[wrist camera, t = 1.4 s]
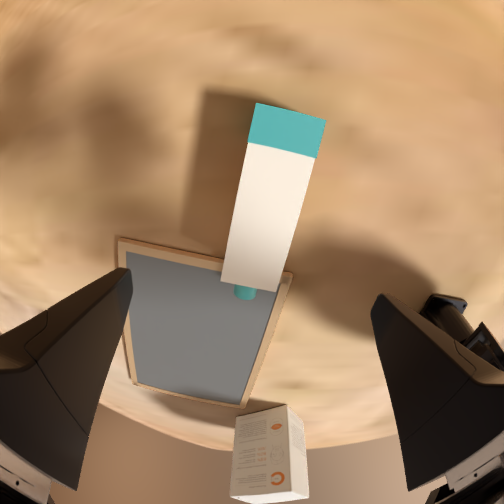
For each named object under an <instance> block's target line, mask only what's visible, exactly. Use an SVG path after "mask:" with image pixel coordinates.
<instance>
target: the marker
mask: <svg viewBox="0 0 504 504" xmlns="http://www.w3.org/2000/svg"><path fill="white" fill-rule="evenodd" d="M325 123H326V120H323V119H320V118H317V117H313V116H310V115H306V114H302V113H298V112H295V111H291V110H287V109H282V108H278V107H274V106H269V105H265V104H260V103H256V106H255V110H254V114H253V119H252V123H251V128H250V132H249V137H248V141H247V142H248V146H247V150H246V155H245V160H244V164H243V169H242V174H241V178H240V183H239V188H238V193H237V198H236V203H235V208H234V212H233V217H232V223H231V228H230V233H229V238H228V243H227V248H226V253H225V259H224V264H223V269H222V275H221V280H220V281H222V282H227V283H231V284H235V286H234V291H233V293H234V295H235V296H236V297H238V298H240V299H243V300H251V299H254V298H255V295H256V292H257V289H262V290H267V291H272V292H276V290H277V287H278V284H279V281H280V278H281V274H282V271H283V268H284V265H285V261H286V258H287V255H288V252H289V248H290V245H291V242H292V238H293V235H294V231H295V228H296V225H297V221H298V218H299V214H300V211H301V207H302V204H303V200H304V197H305V193H306V190H307V186H308V183H309V179H310V175H311V172H312V168H313V164H314V160H315V158H317V154H318V150H319V146H320V142H321V139H322V135H323V131H324V127H325Z"/></svg>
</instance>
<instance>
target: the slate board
mask: <svg viewBox="0 0 504 504" xmlns="http://www.w3.org/2000/svg"><path fill="white" fill-rule="evenodd" d="M223 264H224V259H220V258H215V257H210V256H205V255H201V254H196V253H191V252H186V251H181V250H177V249H172V248H167V247H163V246H158V245H153V244H148V243H144V242H139V241H135V240H130V239H125V238H120V239H119V240H118V268H119V267H123V268H129V269H130V270H131V273H132V282H133V295H132V299H131V302H130V306H129V310H128V313H127V317H126V321H125V325H124V336H125V343H126V350H127V356H128V363H129V368H130V374H131V379H132V384H133V385H137V386H140V387H143V388H147V389H150V390H154V391H158V392H161V393H165V394H169V395H173V396H177V397H182V398H186V399H190V400H195V401H200V402H205V403H210V404H215V405H221V406H227V407H233V408H240V409H245V407H246V404H247V402H248V399H249V397H250V394H251V392H252V389H253V387H254V384H255V381H256V379H257V376H258V374H259V371H260V368H261V366H262V363H263V360H264V358H265V355H266V352H267V350H268V347H269V344H270V342H271V339H272V336H273V333H274V330H275V328H276V325H277V322H278V319H279V316H280V314H281V311H282V308H283V305H284V302H285V299H286V296H287V293H288V290H289V287H290V284H291V281H292V278H293V275H292V273H290V272H285V271H282V274H281V278H280V281H279V284H278V287H277V290H276V292H272V291H267V290H262V289H257V292H256V295H255V298H254V299H251V300H243V299H240V298H238V297H236V296H235V295H234V293H233V291H234V286H235V284H231V283H227V282H222V281H220V280H221V275H222V269H223Z"/></svg>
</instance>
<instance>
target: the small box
mask: <svg viewBox="0 0 504 504" xmlns="http://www.w3.org/2000/svg"><path fill="white" fill-rule="evenodd" d="M230 497H233V498H235V499H238V500H241V501H245V502H248V503H252V504H263V503H274V502H283V501H291V500H298V499H304V498H309V487H308V472H307V459H306V447H305V436H304V425H303V421H302V420H301V419H300V418H299V417H298V416H297V415H296V414H295V413H294V412H293V411H292V410H291V409H290V408H289V407H288V406H287V405H283V406H279V407H276V408H272V409H268V410H264V411H260V412H256V413H252V414H248V415H243V416H238V417H236V423H235V435H234V447H233V460H232V472H231V484H230Z"/></svg>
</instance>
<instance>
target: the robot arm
mask: <svg viewBox="0 0 504 504" xmlns="http://www.w3.org/2000/svg"><path fill="white" fill-rule="evenodd" d="M132 295H133V282H132V273H131V270H130V269H129V268H123V267H119V268H117V269H115V270H113V271H111V272H110V273H108V274H106V275H104V276H103V277H101V278H99V279H97V280H95V281H94V282H92V283H90V284H88V285H87V286H85V287H83V288H82V289H80V290H78V291H76V292H75V293H73V294H71V295H70V296H68V297H66V298H65V299H63V300H61V301H60V302H58V303H56V304H55V305H53V306H51V307H50V308H48V310H45V311H43V312H42V313H40V314H38V315H37V316H35V317H33V318H32V319H30V320H28V321H26V322H25V323H23V324H21V325H19V326H17V327H15V328H14V329H12V330H10V331H8V332H6V333H4V334H2V335H0V504H55V503H54V501H53V500H52V498H51V496H50V494H49V490H50V486H51V482H52V481H54V482H56V483H58V484H61V485H63V486H65V487H68V488H70V489H72V490H75V491H77V488H78V482H79V478H80V473H81V468H82V463H83V459H84V454H85V450H86V446H87V442H88V438H89V437H88V436H89V433H90V430H91V426H92V423H93V419H94V415H95V412H96V409H97V405H98V402H99V399H100V395H101V392H102V389H103V386H104V383H105V380H106V377H107V374H108V371H109V368H110V365H111V362H112V359H113V357H114V354H115V351H116V348H117V345H118V343H119V340H120V337H121V335H122V332H123V329H124V325H125V321H126V317H127V313H128V310H129V306H130V302H131V299H132ZM466 307H467V302H466V301H465V300H460V299H454V298H449V297H444V296H438V295H432V296H430V298H429V299H428V301H427V303H426V304H425V306H424V308H423V310H422V311H421V313H420V314H418V313H417V312H415V311H414V310H412V309H411V308H409V307H408V306H407V305H405V304H404V303H402V302H401V301H399V300H398V299H396V298H395V297H393V296H392V295H390V294H386V293H381V294H379V295H378V296H377V299H376V301H375V303H374V305H373V307H372V309H371V320H372V325H373V330H374V335H375V340H376V345H377V350H378V354H379V357H380V361H381V364H382V368H383V371H384V375H385V379H386V383H387V386H388V390H389V394H390V398H391V403H392V407H393V411H394V415H395V420H396V425H397V429H398V434H399V439H400V443H401V444H400V445H401V450H402V456H403V462H404V468H405V475H406V482H407V488H408V491H412V490H414V489H416V488H419V487H421V486H423V485H426V484H428V483H430V482H433V481H435V480H437V479H439V478H441V477H443V476H446V479H447V484H445V485H443V486H441V487H439V488H437V489H435V490H433V491H432V492H431V493H430V495H429V497H428V499H427V501H426V503H425V504H504V350H503V348H502V347H501V345H500V344H499V342H498V341H497V340H496V338H495V337H494V336H493V334H492V333H491V332H490V331H489V329H488V328H487V327H486V326H485V324H484V323H483V322H481V323H480V324H479V327H478V328H477V329H476V330H475V331H474V330H473V328H472V327H471V326H470V324H469V323H468V321H467V320H466V319H465V317H464V316H463V315H462V313H463V312H464V310H465V308H466Z"/></svg>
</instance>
